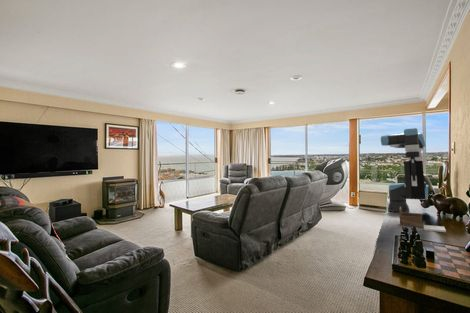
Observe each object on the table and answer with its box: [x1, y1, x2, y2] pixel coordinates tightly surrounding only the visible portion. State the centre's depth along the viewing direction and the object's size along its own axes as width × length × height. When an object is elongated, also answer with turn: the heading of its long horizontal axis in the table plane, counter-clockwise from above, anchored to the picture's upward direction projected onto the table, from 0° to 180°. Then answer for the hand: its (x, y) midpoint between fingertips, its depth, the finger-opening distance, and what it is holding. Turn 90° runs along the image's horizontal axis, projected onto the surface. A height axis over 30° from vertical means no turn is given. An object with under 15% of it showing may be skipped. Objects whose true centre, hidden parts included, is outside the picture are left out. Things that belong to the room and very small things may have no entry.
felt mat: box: [423, 224, 447, 233], centre depth 146 cm, size 10×10×1 cm
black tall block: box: [403, 160, 427, 200], centre depth 157 cm, size 8×8×28 cm
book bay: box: [398, 207, 424, 228], centre depth 161 cm, size 13×12×10 cm
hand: (414, 185), depth 157 cm, fingers closed on black tall block, 9 cm apart
